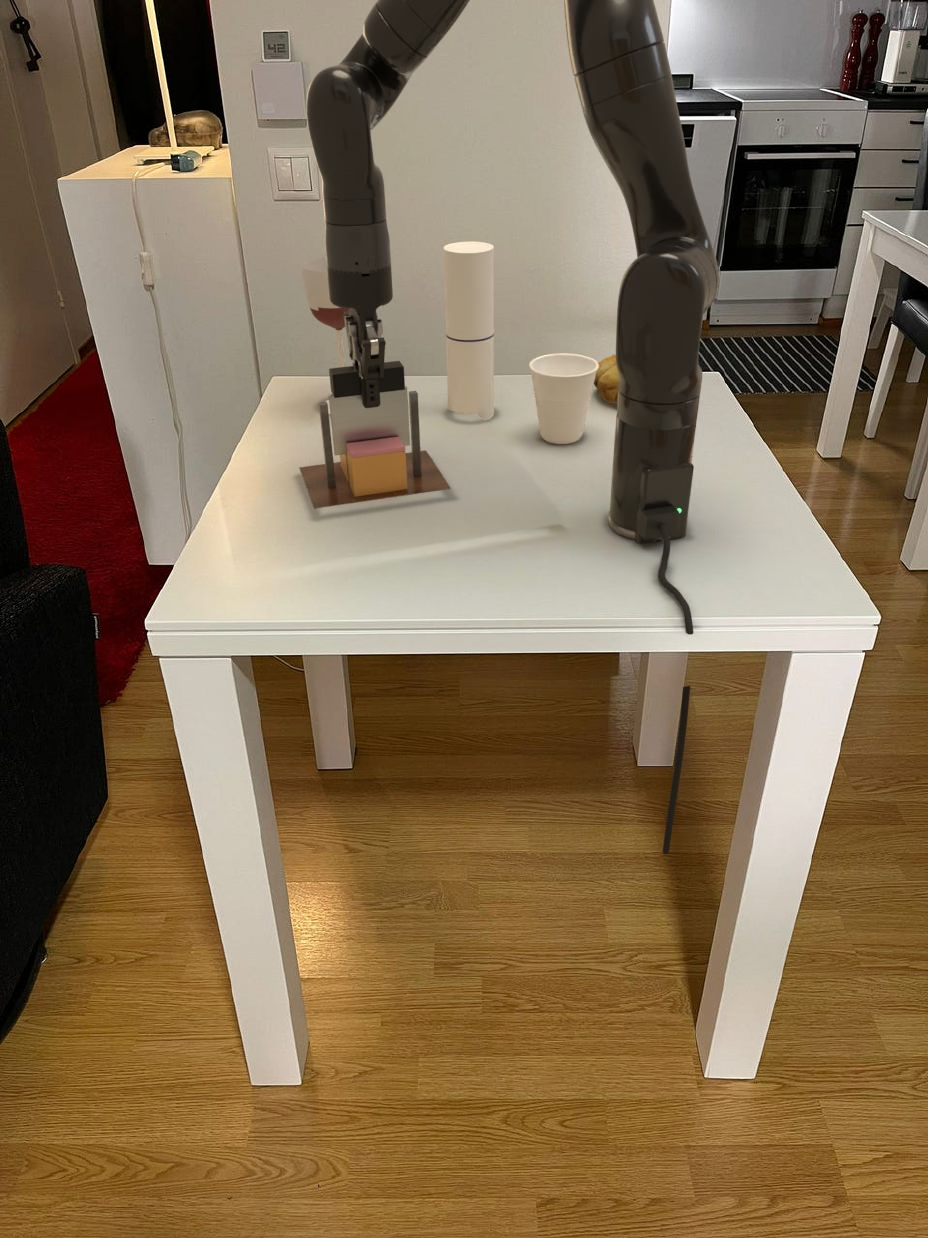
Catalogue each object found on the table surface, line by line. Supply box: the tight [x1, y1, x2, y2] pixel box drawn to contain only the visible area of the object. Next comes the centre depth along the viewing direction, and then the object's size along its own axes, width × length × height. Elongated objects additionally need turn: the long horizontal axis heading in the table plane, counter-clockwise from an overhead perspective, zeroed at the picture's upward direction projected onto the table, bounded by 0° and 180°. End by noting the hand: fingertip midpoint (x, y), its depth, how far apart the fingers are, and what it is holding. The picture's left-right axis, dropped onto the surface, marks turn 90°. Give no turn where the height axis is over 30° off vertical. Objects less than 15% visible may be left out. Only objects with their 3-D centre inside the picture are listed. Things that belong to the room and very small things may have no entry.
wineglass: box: [300, 257, 348, 415], centre depth 149 cm, size 9×10×22 cm
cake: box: [339, 437, 407, 497], centre depth 128 cm, size 10×7×6 cm
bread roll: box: [593, 354, 619, 404], centre depth 153 cm, size 13×10×8 cm
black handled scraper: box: [328, 360, 411, 456], centre depth 123 cm, size 2×10×11 cm, turn 106°
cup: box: [528, 352, 599, 445], centre depth 140 cm, size 10×10×11 cm
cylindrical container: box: [443, 241, 495, 422], centre depth 145 cm, size 7×7×25 cm
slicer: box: [298, 390, 452, 509], centre depth 126 cm, size 13×18×13 cm
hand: (369, 401), depth 122 cm, fingers closed on black handled scraper, 2 cm apart
